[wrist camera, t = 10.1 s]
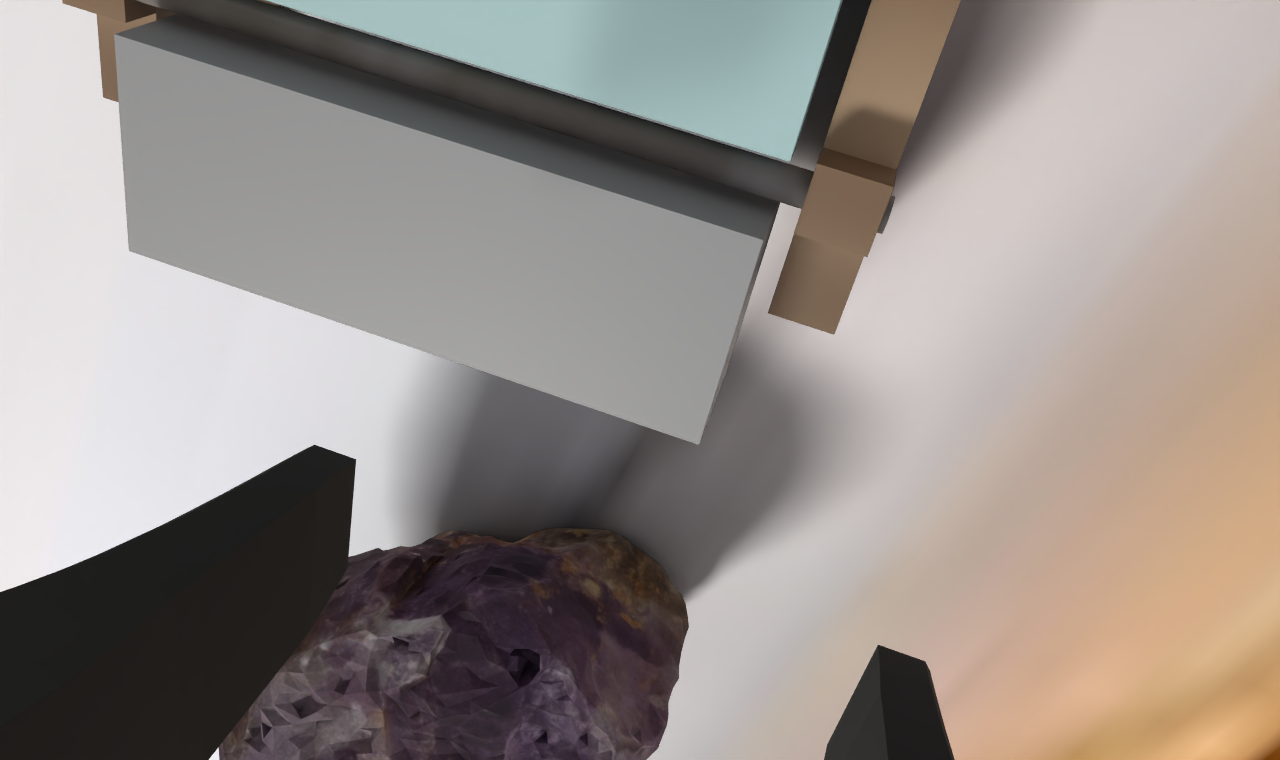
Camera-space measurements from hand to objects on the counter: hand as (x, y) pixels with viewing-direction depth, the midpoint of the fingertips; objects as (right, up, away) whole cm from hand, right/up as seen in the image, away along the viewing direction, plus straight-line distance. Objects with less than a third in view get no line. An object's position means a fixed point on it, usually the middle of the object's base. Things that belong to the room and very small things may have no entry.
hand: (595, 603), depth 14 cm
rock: (-3, -3, +16) cm, 17 cm away
